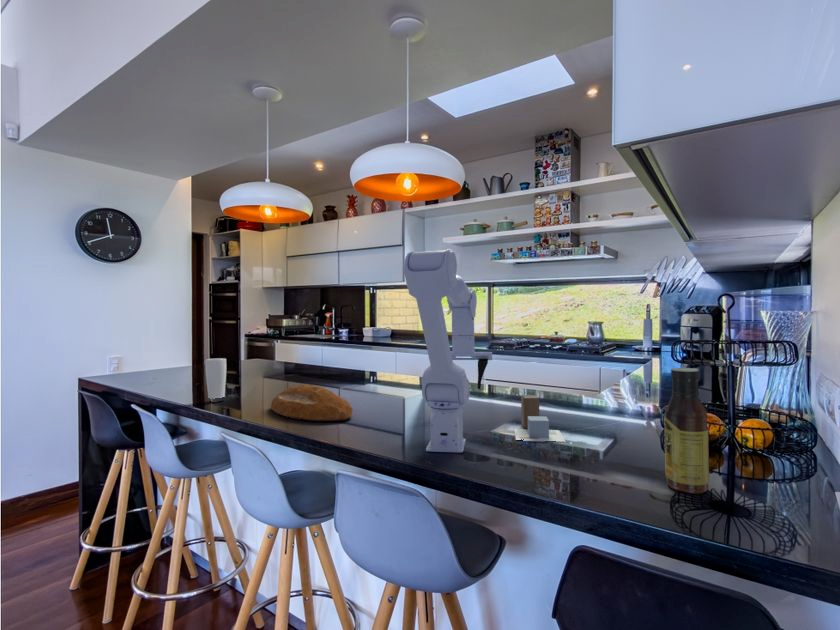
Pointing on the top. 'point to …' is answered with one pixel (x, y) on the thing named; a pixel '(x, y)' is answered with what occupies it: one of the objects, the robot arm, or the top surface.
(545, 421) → the slate cube
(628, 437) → the top surface
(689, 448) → the sauce bottle
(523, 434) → the letter
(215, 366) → the drinking glass
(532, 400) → the wooden block
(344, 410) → the bread
